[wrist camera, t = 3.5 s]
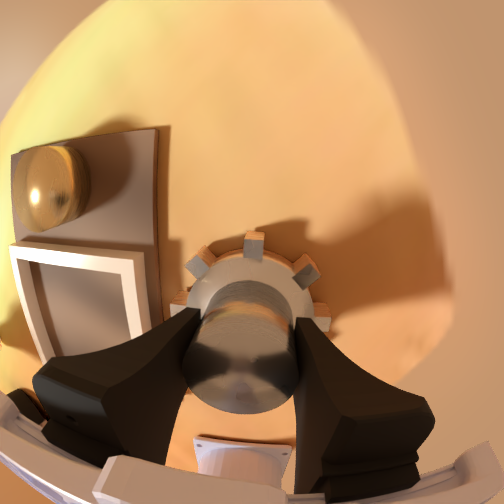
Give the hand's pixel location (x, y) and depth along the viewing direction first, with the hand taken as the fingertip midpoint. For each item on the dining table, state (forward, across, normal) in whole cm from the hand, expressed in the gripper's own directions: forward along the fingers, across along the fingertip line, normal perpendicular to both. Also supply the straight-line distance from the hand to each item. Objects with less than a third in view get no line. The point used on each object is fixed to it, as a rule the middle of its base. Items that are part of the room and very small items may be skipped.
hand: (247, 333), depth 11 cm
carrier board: (+3, +11, 0) cm, 11 cm away
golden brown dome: (+3, +11, -6) cm, 13 cm away
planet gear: (+3, 0, 0) cm, 3 cm away
